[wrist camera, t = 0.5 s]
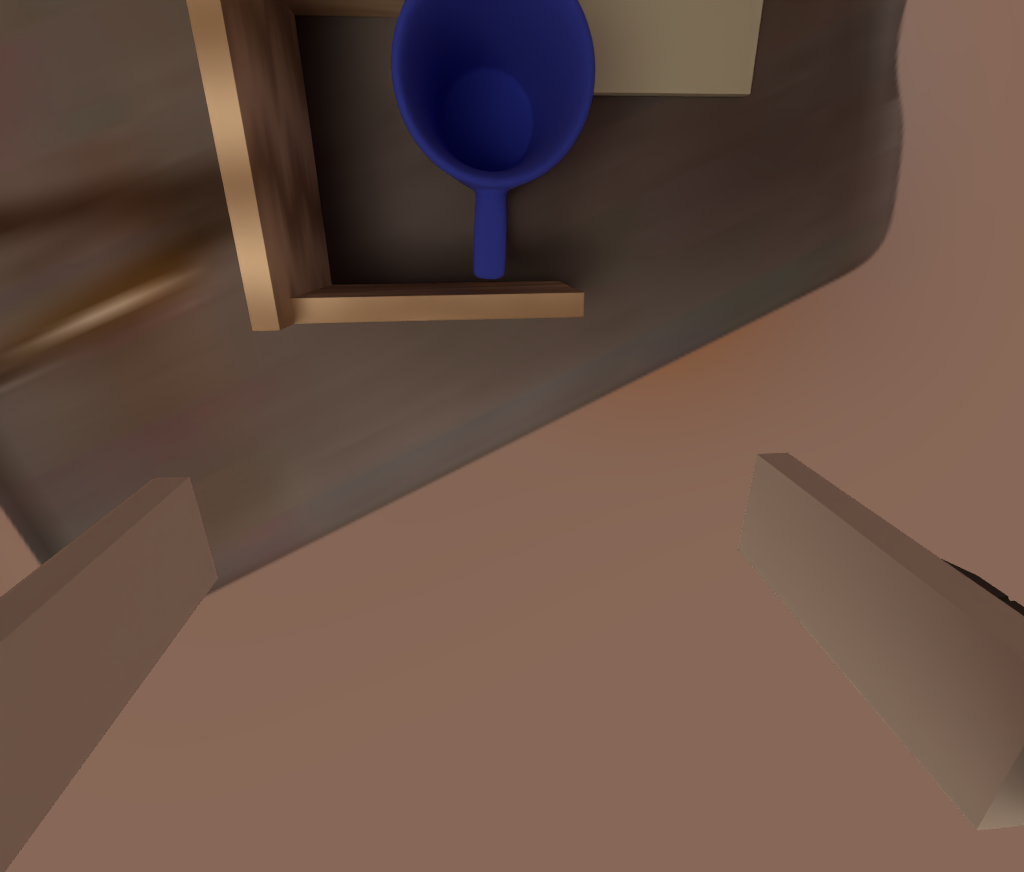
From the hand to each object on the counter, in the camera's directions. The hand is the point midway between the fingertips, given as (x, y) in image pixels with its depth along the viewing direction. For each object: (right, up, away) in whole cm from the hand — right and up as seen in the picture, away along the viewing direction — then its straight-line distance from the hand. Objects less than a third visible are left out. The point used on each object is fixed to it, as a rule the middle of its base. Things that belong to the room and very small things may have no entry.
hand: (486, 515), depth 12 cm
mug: (-1, +18, +18) cm, 26 cm away
